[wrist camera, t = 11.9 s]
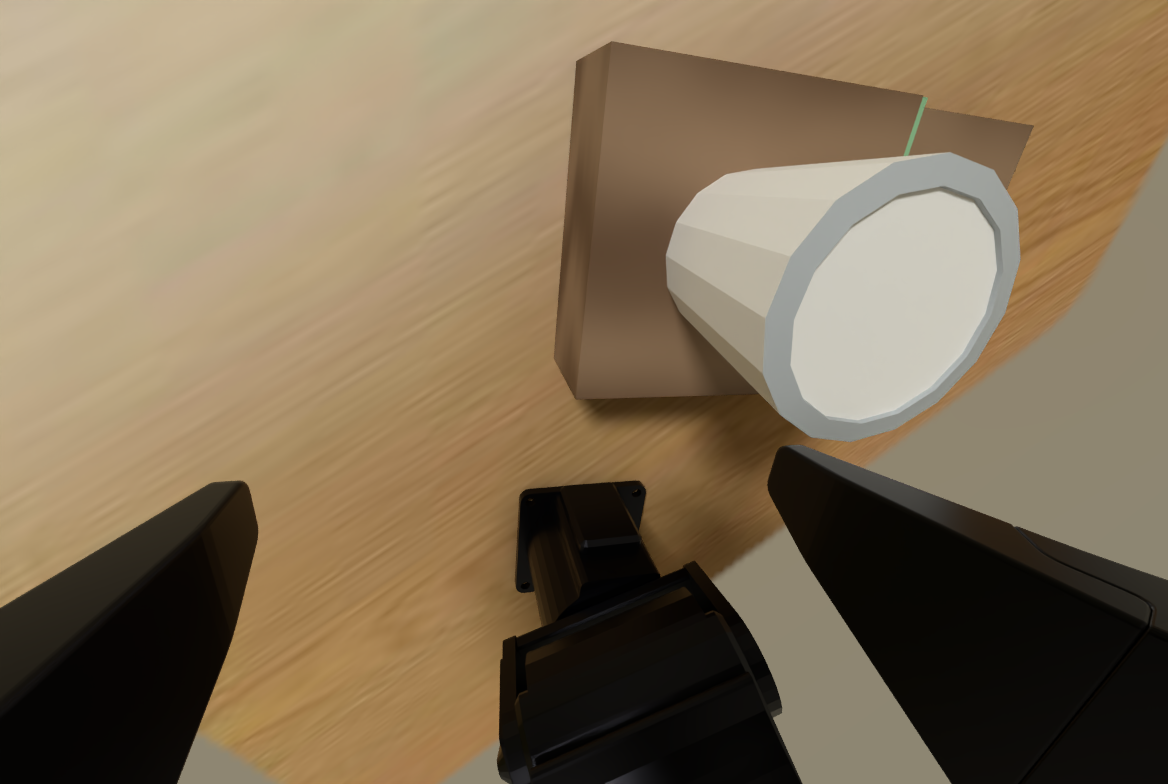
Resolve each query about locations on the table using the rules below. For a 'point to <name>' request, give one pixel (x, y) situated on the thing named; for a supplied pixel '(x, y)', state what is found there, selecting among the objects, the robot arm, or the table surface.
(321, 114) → the table surface
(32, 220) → the table surface
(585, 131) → the stepped riser
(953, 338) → the white tapered cup
